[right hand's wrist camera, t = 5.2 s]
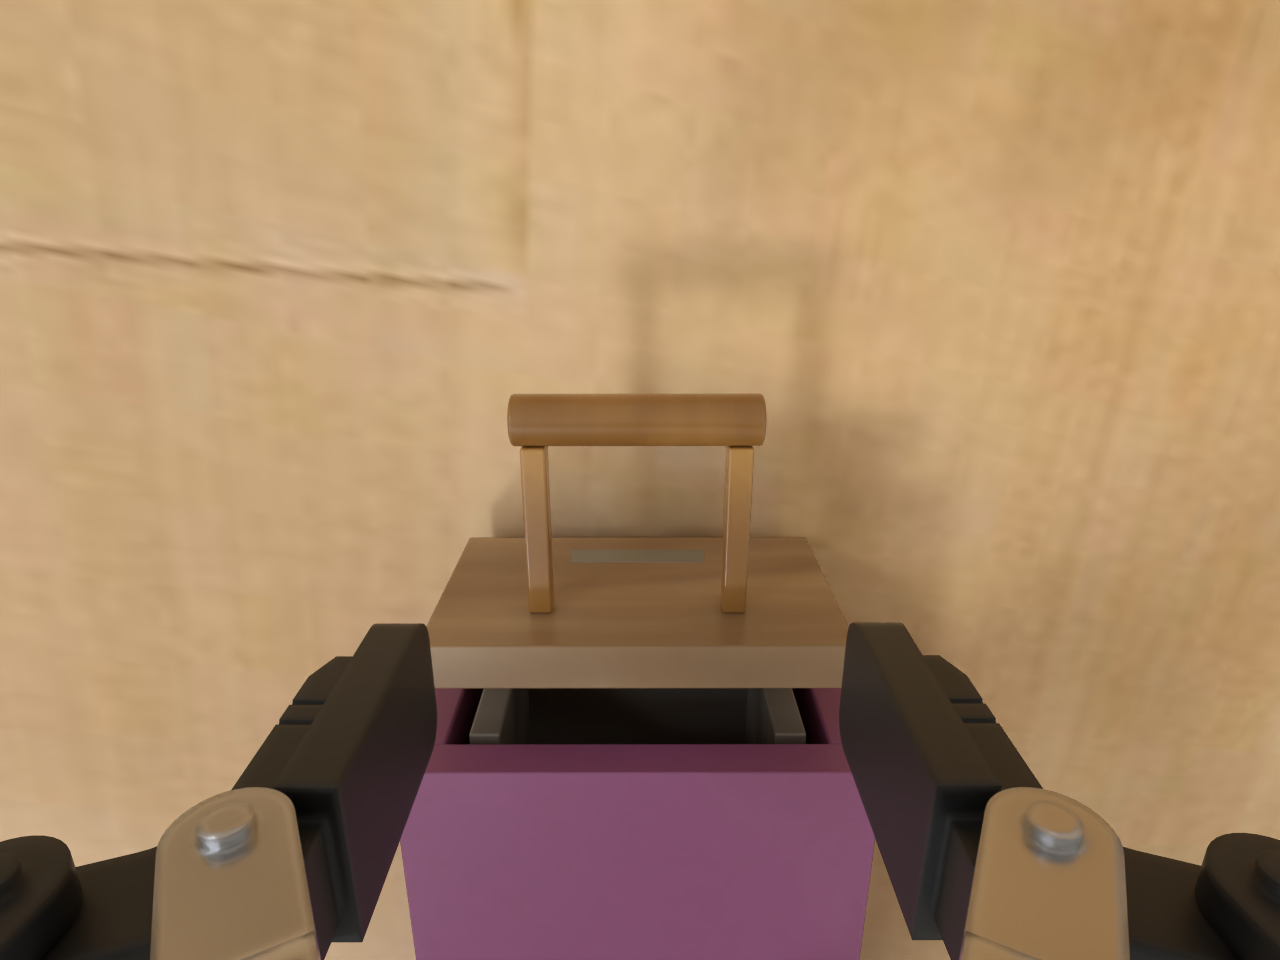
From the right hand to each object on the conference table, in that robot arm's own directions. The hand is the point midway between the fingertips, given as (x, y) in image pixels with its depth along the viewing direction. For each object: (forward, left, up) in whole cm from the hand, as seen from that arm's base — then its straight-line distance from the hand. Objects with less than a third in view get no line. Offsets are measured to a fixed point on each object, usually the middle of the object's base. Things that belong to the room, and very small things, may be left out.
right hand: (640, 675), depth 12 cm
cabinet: (+16, -5, -13) cm, 21 cm away
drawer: (+10, -3, -12) cm, 16 cm away
